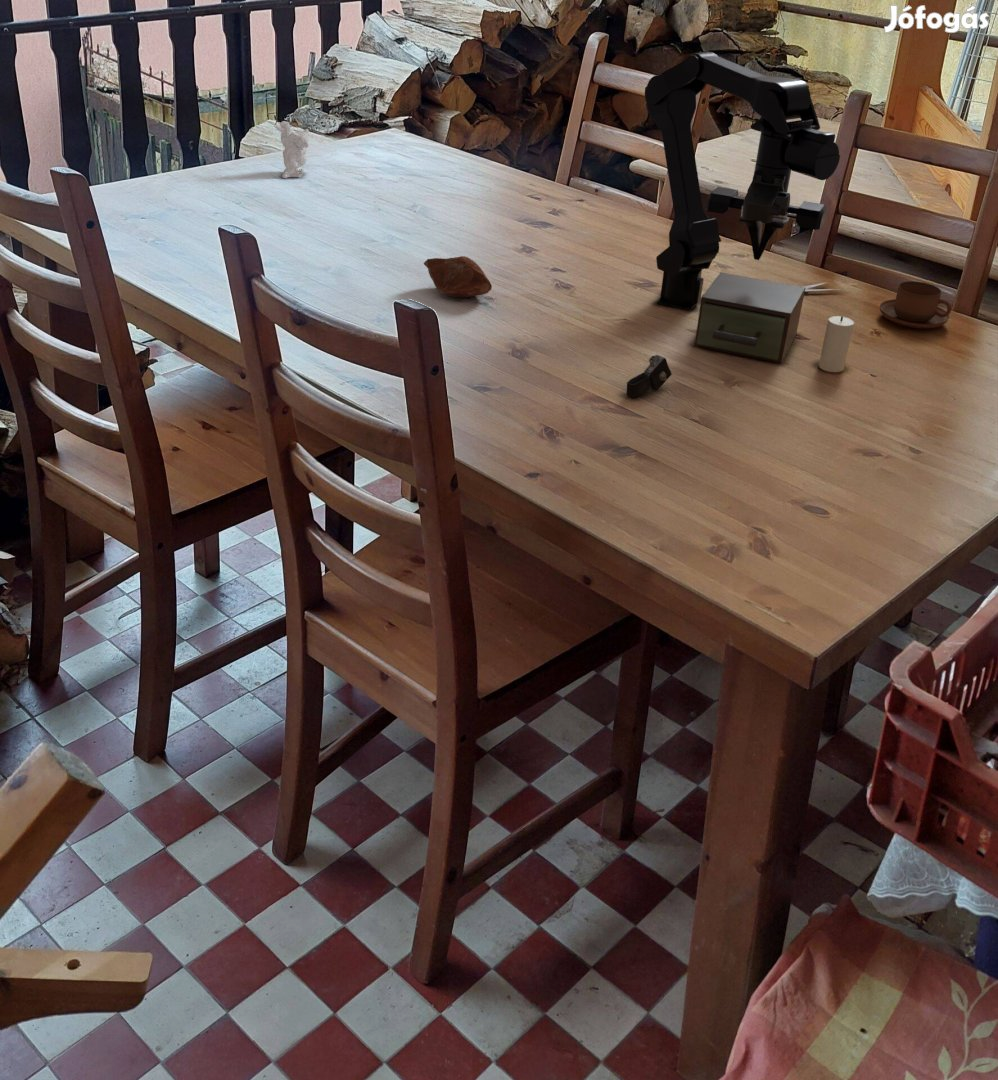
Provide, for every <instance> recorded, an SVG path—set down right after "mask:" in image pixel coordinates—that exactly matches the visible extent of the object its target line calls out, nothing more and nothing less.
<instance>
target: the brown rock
mask: <svg viewBox="0 0 998 1080" xmlns="http://www.w3.org/2000/svg"><path fill="white" fill-rule="evenodd" d="M423 265H424V266H425V268H427V271H428V275H429V277H430V278H431V280H432V283H433V284H434V287H435V288H436V290H437V291H438V292H440V293H442V294H444V295H447V296H449V297H451V298H452V297H453V298H466V299H467V298H471V297H476V296H483V295H486V294H488V293H489V292H490V291H492V288H493V285H492V283H491V282H490V279H489V278H488V276H486V275H487V274H485V271H484V270H483V269H482V268H481V266H480V265H479V264H478V263H477V262H475V261H474V260H473V259H471V258H469V257H468V256H463V255H461V256H454V257H448V258H441V257H435V258H434V257H433V258H427V259H426V260H425V261H424V262H423Z"/></svg>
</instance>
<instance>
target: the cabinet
mask: <svg viewBox="0 0 998 1080" xmlns="http://www.w3.org/2000/svg"><path fill="white" fill-rule="evenodd" d="M805 293H806V292H805V287H804V286H800V285H795V284H788V283H782V282H777V281H771V280H766V279H761V278H757V277H750V276H744V275H738V274H733V273H727V272H721V271H720V272H719V274H718V275H717V277H716V278H715V279H714V280H713V282H712V283H711V284H710V285H709V287H708V288H707V289H706V291H705V292H704V293H703V295H701V300H700V306H699V312H698V319H697V326H696V332H695V339H694V347H698V348H703V349H708V350H713V351H716V352H717V351H718V352H723V353H727V354H728V353H729V354H732V355H737V356H742V357H749V358H752V359H758V360H763V361H768V362H771V363H772V362H773V363H778V364H782V363H783V361H784V359H785V358H786V355H787V353H788V351H789V350H790V348H791V346H792V345H793V342H794V341H795V338H796V337H797V333H798V327H799V324H800V323H799V322H800V318H801V312H802V307H803V302H804V297H805ZM704 303H707V304H710V303H712V304H718V305H723V306H728V307H734V308H739V309H744V310H750V311H755V312H760V313H766V314H771V315H777V316H782V317H785V318H786V322H785V327H784V332H783V337H782V343H781V348H780V353H779V358H778V359H777V360H775V359H770V358H765V357H760V356H754V355H749V354H744V353H739V352H734V351H729V350H724V349H719V348H714V347H709V346H704V345H699V344H697V340H698V333H699V326H700V320H701V313H702V307H703V304H704Z"/></svg>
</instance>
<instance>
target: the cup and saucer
mask: <svg viewBox="0 0 998 1080" xmlns="http://www.w3.org/2000/svg"><path fill="white" fill-rule="evenodd" d="M941 296H942V290H941V289H940V288H939V287H938V286H936V285H934V284H930V283H927V282H922V281H915V280H914V281H913V280H912V281H911V280H910V281H902V282H900V283H899V284H898V286H897V291H896V296H895V298H894V299H888V300H885V301H883V302H881V303H880V305H879V311H880V313H881V314H882V316H883V317H884V318H886V319H887V320H888V321H890V322H892V323H895V324H896V325H900V326H904V327H907V328H912V329H922V330H923V329H925V330H926V329H935V328H938V327H941V326H944V325H945V324H946V323H947V322H949V319H950V314H951V312H952V304H951V303H950V302H949V301H948V300H946V299H943V298H941ZM939 304H943V305H945V306H946V308H947V310H945V309H943V308H941V307H940V306H939Z"/></svg>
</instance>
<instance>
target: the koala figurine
mask: <svg viewBox="0 0 998 1080" xmlns="http://www.w3.org/2000/svg"><path fill="white" fill-rule="evenodd" d="M274 128H275V129H276V130H277V131H279V133H280V142H281V144H282V145H283V146H284V149H283V151H282V158H283V165H284V167H285V168H284V169H283V173H282V175H281V178H283V179H287V178H302V176H303V174H304V173H305V169H304V168H302V167H303V166H304V165H306V164H307V161H308V158H307V157H306V151H307V148H309V140H310V138H309V129H308V128H305V129H304V130H300V131H299V130H298V131H295V132H292V130H291V124H290V122H289V121H286V120H282V121H281V122H280V125H278V124H275V125H274ZM299 168H300V169H299ZM298 169H299V170H298ZM284 172H288V173H284ZM289 172H290V173H289ZM291 172H293V173H291ZM299 173H302V174H299Z"/></svg>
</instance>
